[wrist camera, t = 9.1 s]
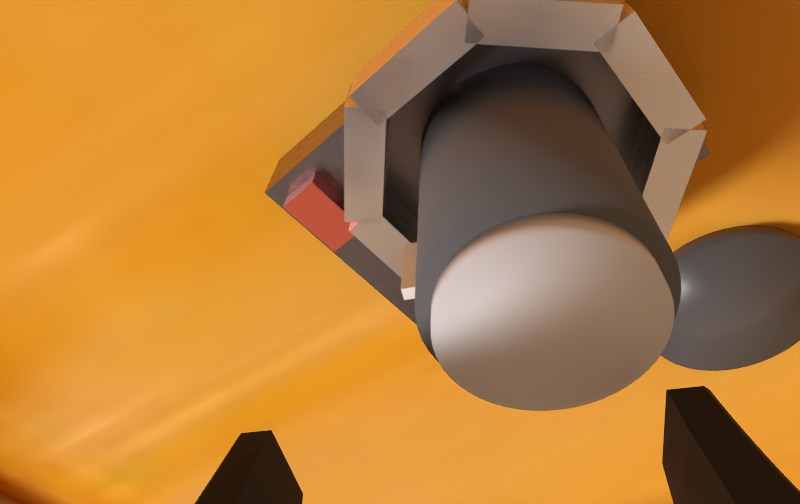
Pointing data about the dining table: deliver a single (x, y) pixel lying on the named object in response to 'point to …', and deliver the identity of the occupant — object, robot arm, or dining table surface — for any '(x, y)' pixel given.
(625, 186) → the lens
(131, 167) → the dining table surface
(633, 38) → the grey octagonal container
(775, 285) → the lens cap
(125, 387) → the dining table surface
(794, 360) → the dining table surface
